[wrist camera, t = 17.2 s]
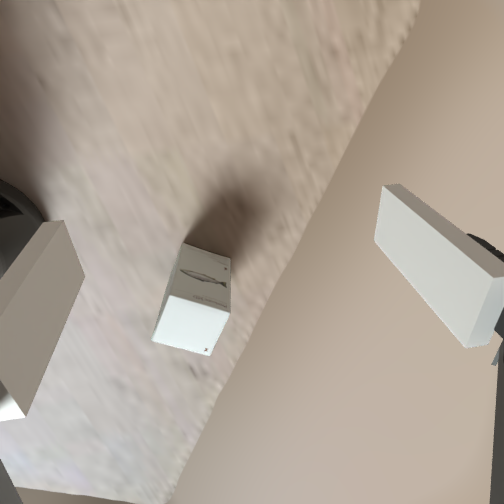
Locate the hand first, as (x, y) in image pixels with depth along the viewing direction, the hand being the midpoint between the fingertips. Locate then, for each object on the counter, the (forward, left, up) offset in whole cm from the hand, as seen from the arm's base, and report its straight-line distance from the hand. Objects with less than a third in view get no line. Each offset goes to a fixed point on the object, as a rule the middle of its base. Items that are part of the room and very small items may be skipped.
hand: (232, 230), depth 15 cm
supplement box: (-4, -21, -30) cm, 37 cm away
